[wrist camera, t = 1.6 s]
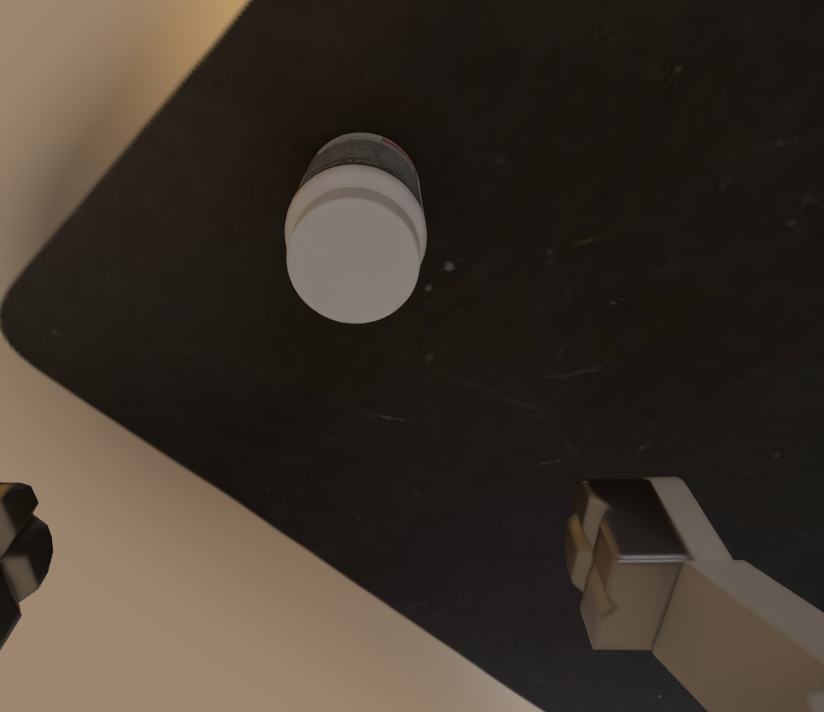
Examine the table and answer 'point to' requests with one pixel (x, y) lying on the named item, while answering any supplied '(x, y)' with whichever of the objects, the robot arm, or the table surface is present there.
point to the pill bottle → (356, 229)
